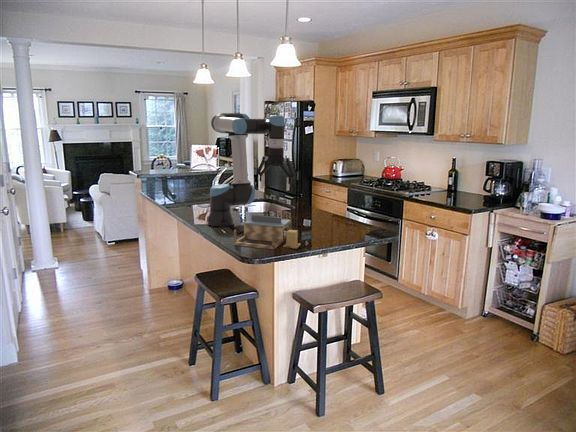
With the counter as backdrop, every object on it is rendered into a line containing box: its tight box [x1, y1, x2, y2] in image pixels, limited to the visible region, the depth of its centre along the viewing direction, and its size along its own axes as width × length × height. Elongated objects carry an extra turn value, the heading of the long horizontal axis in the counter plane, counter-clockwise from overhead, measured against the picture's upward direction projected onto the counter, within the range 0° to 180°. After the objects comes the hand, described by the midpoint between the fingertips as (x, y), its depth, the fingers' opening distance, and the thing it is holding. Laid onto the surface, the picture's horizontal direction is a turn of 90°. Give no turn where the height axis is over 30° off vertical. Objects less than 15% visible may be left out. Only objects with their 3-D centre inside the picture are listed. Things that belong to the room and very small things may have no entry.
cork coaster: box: [282, 243, 302, 249], centre depth 215 cm, size 7×7×1 cm
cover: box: [243, 214, 292, 227], centre depth 228 cm, size 21×14×4 cm, turn 73°
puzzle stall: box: [233, 221, 292, 250], centre depth 224 cm, size 21×28×8 cm
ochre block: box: [285, 229, 299, 246], centre depth 214 cm, size 4×4×7 cm
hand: (275, 189), depth 222 cm, fingers open, 13 cm apart
